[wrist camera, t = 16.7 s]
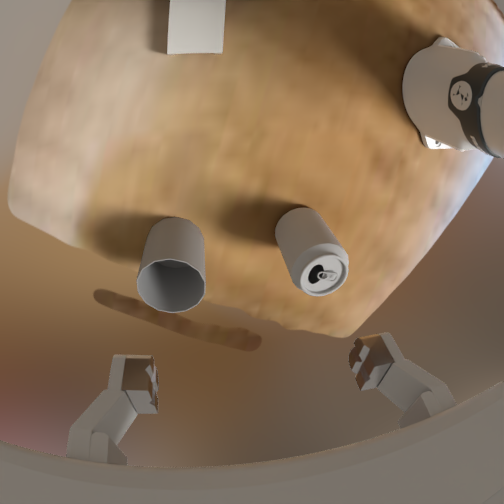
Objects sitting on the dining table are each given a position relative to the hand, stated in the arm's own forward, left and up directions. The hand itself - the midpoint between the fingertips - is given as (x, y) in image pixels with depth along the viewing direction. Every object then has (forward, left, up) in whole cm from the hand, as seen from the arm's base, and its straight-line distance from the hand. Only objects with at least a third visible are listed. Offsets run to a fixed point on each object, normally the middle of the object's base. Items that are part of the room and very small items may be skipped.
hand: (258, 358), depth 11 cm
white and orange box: (+3, -20, -31) cm, 37 cm away
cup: (+6, +14, -31) cm, 35 cm away
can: (-12, +12, -31) cm, 36 cm away
